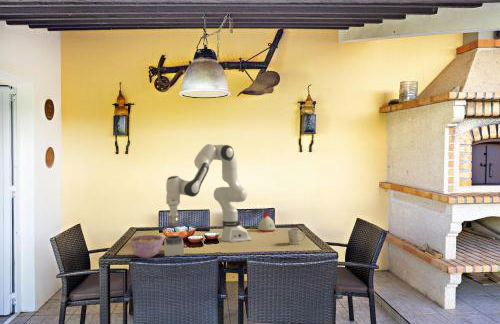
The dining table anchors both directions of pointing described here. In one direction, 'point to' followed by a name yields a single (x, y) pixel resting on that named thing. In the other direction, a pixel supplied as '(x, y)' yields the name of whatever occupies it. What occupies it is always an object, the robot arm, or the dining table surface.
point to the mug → (294, 235)
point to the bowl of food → (146, 245)
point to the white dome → (266, 224)
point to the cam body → (173, 245)
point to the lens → (171, 225)
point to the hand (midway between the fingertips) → (173, 221)
